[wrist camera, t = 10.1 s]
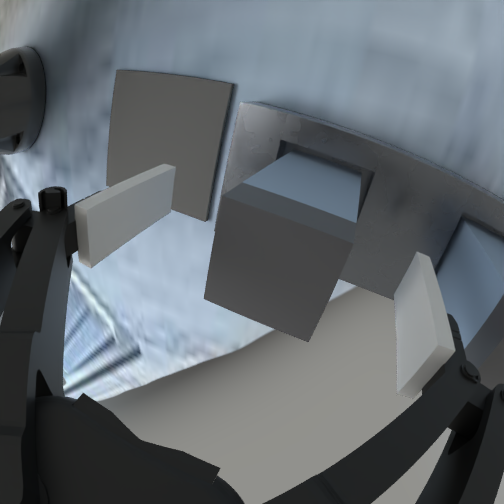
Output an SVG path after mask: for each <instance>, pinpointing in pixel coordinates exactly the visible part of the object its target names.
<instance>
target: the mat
mask: <svg viewBox="0 0 504 504" xmlns="http://www.w3.org/2000/svg"><path fill="white" fill-rule="evenodd" d="M233 86H234V84H230V83H225V82H220V81H214V80H208V79H201V78H195V77H188V76H180V75H172V74H163V73H154V72H142V71H129V70H117V71H116V78H115V85H114V92H113V100H112V109H111V119H110V129H109V142H108V158H107V181H106V186H109V187H111V186H114V185H116V184H118V183H120V182H122V181H125V180H127V179H129V178H131V177H134V176H136V175H138V174H140V173H143V172H145V171H148V170H150V169H152V168H155V167H157V166H160V165H162V164H168V165H171V166H175V167H176V170H175V178H174V186H173V195H172V204H171V209H172V210H175V211H177V212H180V213H183V214H186V215H188V216H191V217H194V218H196V219H199V220H202V221H204V222H206V221H207V220H208V214H209V208H210V202H211V197H212V191H213V185H214V180H215V175H216V169H217V164H218V159H219V153H220V148H221V143H222V138H223V133H224V128H225V123H226V118H227V114H228V109H229V104H230V100H231V95H232V90H233Z"/></svg>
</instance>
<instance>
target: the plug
mask: <svg viewBox="0 0 504 504" xmlns="http://www.w3.org/2000/svg"><path fill="white" fill-rule="evenodd" d="M361 175H362V173H361V172H359V171H356V170H353V169H351V168H348V167H345V166H342V165H340V164H337V163H334V162H331V161H328V160H325V159H323V158H320V157H317V156H314V155H311V154H308V153H305V152H302V151H298V150H295V149H294V150H292V151H291V152H289V153H288V154H286V155H284V156H283V157H281V158H279V159H278V160H276V161H275V162H273V163H271V164H270V165H268V166H267V167H265V168H264V169H262V170H260V171H259V172H257V173H256V174H254V175H253V176H251V177H250V178H248V179H246V180H245V181H243V182H242V183H240V184H239V185H237V186H236V187H234V188H233V189H231V190H230V191H228V192H227V193H225V194H224V195H222V198H221V203H220V208H219V213H218V219H217V224H216V230H215V235H214V241H213V247H212V252H211V258H210V264H209V270H208V276H207V282H206V288H205V294H204V299H205V300H208V301H210V302H212V303H214V304H217V305H219V306H221V307H224V308H226V309H228V310H231V311H233V312H235V313H238V314H240V315H242V316H245V317H247V318H249V319H252V320H254V321H257V322H259V323H261V324H264V325H266V326H269V327H271V328H274V329H276V330H279V331H281V332H284V333H286V334H289V335H292V336H294V337H297V338H299V339H301V340H304V341H307V342H309V340H310V338H311V336H312V334H313V332H314V330H315V328H316V326H317V324H318V322H319V319H320V318H321V315H322V313H323V311H324V309H325V307H326V305H327V303H328V301H329V299H330V297H331V294H332V292H333V290H334V288H335V286H336V283H337V281H338V279H339V277H340V274H341V272H342V270H343V268H344V265H345V263H346V261H347V258H348V256H349V254H350V251H351V249H352V247H353V244H354V238H355V230H356V222H357V214H358V205H359V196H360V186H361Z"/></svg>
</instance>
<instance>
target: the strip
mask: <svg viewBox="0 0 504 504" xmlns="http://www.w3.org/2000/svg"><path fill="white" fill-rule="evenodd" d="M294 149H295V150H298V151H302V152H305V153H308V154H311V155H314V156H317V157H320V158H323V159H325V160H328V161H331V162H334V163H337V164H340V165H342V166H345V167H348V168H351V169H353V170H356V171H359V172H361V173H362V175H361V186H360V196H359V205H358V214H357V222H356V230H355V238H354V244H353V247H352V249H351V251H350V254H349V256H348V258H347V261H346V263H345V265H344V268H343V270H342V272H341V274H340V277H339V279H341V280H343V281H346V282H349V283H351V284H354V285H356V286H359V287H362V288H364V289H367V290H369V291H372V292H375V293H377V294H380V295H382V296H385V297H387V298H390V299H393V300H394V293H395V292H396V290H397V288H398V286H399V285H400V283H401V281H402V279H403V277H404V275H405V273H406V272H407V270H408V268H409V266H410V264H411V262H412V260H413V258H414V256H415V254H416V252H419V253H422V254H424V255H426V256H429V257H430V259H431V262H432V265H433V269H435V267H436V265H437V264H438V262H439V260H440V258H441V256H442V254H443V252H444V250H445V248H446V246H447V244H448V242H449V240H450V238H451V236H452V234H453V232H454V230H455V228H456V226H457V224H458V222H459V220H460V217H461V215H462V216H464V217H466V218H468V219H470V220H472V221H474V222H476V223H478V224H479V225H481V226H483V227H485V228H487V229H489V230H491V231H493V232H494V233H496V234H498V235H500V236H502V237H503V238H504V200H503V199H501V198H499V197H498V196H496V195H494V194H493V193H491V192H489V191H487V190H485V189H484V188H482V187H480V186H478V185H476V184H474V183H473V182H471V181H469V180H467V179H465V178H463V177H461V176H459V175H457V174H455V173H453V172H451V171H449V170H447V169H445V168H443V167H441V166H439V165H437V164H434V163H432V162H430V161H428V160H426V159H423V158H421V157H419V156H417V155H414V154H412V153H410V152H408V151H405V150H403V149H400V148H398V147H396V146H393V145H391V144H388V143H386V142H383V141H381V140H378V139H375V138H373V137H370V136H367V135H365V134H362V133H359V132H356V131H354V130H351V129H348V128H345V127H342V126H339V125H336V124H333V123H330V122H327V121H324V120H321V119H317V118H314V117H311V116H307V115H304V114H301V113H297V112H294V111H290V110H286V109H283V108H279V107H275V106H271V105H267V104H263V103H259V102H240V105H239V109H238V114H237V118H236V123H235V128H234V132H233V137H232V142H231V147H230V152H229V157H228V161H227V166H226V171H225V177H224V182H223V187H222V192H221V197H220V203H221V198H222V195H224V194H225V193H227V192H228V191H230V190H231V189H233V188H234V187H236V186H237V185H239V184H240V183H242V182H243V181H245V180H246V179H248V178H250V177H251V176H253V175H254V174H256V173H257V172H259V171H260V170H262V169H264V168H265V167H267V166H268V165H270V164H271V163H273V162H275V161H276V160H278V159H279V158H281V157H283V156H284V155H286V154H288V153H289V152H291V151H292V150H294ZM220 203H219V208H220ZM219 208H218V213H219ZM218 213H217V219H218ZM217 219H216V224H217ZM216 224H215V230H216ZM215 230H214V231H215Z"/></svg>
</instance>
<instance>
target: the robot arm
mask: <svg viewBox="0 0 504 504" xmlns="http://www.w3.org/2000/svg"><path fill="white" fill-rule="evenodd" d="M45 93H46V91H45V76H44V70H43V66H42V63H41V60H40V58H39V56H38V54H37V53H36V52H35V51H34V50H33V49H32V48H30V47H19V48H12V49H9V50H7V51H4V52H2V53H0V154H6V155H10V154H15V153H18V152H21V151H24V150H27V149H28V148H29V147H30V146H31V145H32V144H33V143H34V141H35V140H36V138H37V136H38V133H39V131H40V128H41V124H42V120H43V115H44V108H45ZM175 170H176V167H175V166H171V165H168V164H162V165H160V166H157V167H155V168H152V169H150V170H148V171H145V172H143V173H140V174H138V175H136V176H134V177H131V178H129V179H127V180H125V181H122V182H120V183H118V184H116V185H114V186H111V187H109V188H107V189H105V190H102V191H98V192H96V193H94V194H92V195H91V196H88V197H86V198H85V199H82V200H80V201H78V202H76V203H74V204H72V205H70V206H68V207H67V190H66V189H65V188H63V187H56V186H55V187H49V188H45V189H43V190H41V191H40V192H39V193H38V197H39V208H40V212H38V211H32V206H31V201H30V200H28V199H16V200H14V201H12V202H10V203H9V204H8V205H7V206H5V207H4V208H3V209H2V210H1V211H0V316H1V315H2V312H3V311H4V313H3V317H2V321H1V325H0V504H244V502H243V500H242V499H241V497H240V496H239V495H238V493H237V492H236V491H235V490H234V489H233V488H232V487H231V486H230V485H229V484H228V483H227V482H225V481H224V480H223V479H221V478H220V477H219V476H217V474H218V472H219V470H220V468H219V467H217V466H214V465H212V464H210V463H207V462H205V461H203V460H200V459H198V458H196V457H194V456H192V455H189V454H187V453H185V452H183V451H179V450H175V449H171V448H167V447H163V446H159V445H156V444H152V443H149V442H145V441H142V440H140V439H139V438H138V437H137V436H135V435H134V434H133V433H132V432H131V431H130V430H129V429H128V428H127V427H126V426H125V425H124V424H123V423H122V422H121V421H120V420H119V419H118V418H117V417H116V416H115V415H114V414H113V413H112V412H111V411H110V410H108V409H106V408H105V407H103V406H102V405H100V404H99V403H97V402H96V401H94V400H93V399H91V398H90V397H88V396H87V395H86V394H84V393H83V394H82V395H81V396H80V397H79V398H78V399H74V398H70V397H65V395H64V391H63V353H64V335H65V321H66V310H67V301H68V292H69V284H70V277H71V270H72V263H73V259H72V254H73V253H75V252H76V251H78V256H79V262H80V263H82V264H84V265H86V266H88V267H89V268H92V267H94V266H95V265H96V264H98V263H99V262H100V261H102V260H103V259H104V258H106V257H107V256H108V255H110V254H111V253H113V252H114V251H115V250H117V249H118V248H119V247H121V246H122V245H124V244H125V243H126V242H128V241H129V240H131V239H132V238H134V237H135V236H136V235H138V234H139V233H141V232H142V231H144V230H145V229H147V228H148V227H149V226H151V225H152V224H154V223H155V222H157V221H158V220H160V219H161V218H163V217H164V216H166V215H167V214H169V213H170V212H171V204H172V195H173V186H174V178H175ZM11 241H12V246H13V247H12V248H11ZM394 304H395V320H396V341H397V343H396V345H397V394H398V395H402V396H405V397H409V398H412V399H413V398H414V397H415V396H416V395H417V394H418V393H419V392H420V391H421V390H422V396H421V397H420V398H419V399H418V400H416V401H415V402H414V403H413V404H412V405H411V406H410V407H409V408H407V409H406V410H405V411H404V412H403V413H402V414H401V415H399V416H398V417H397V418H396V419H395V420H394V421H392V422H391V423H390V424H389V425H387V426H386V427H385V428H384V429H382V430H381V431H380V432H379V433H377V434H376V435H375V436H373V437H372V438H371V439H369V440H368V441H367V442H365V443H364V444H363V445H362V446H360V447H359V448H357V449H356V450H354V451H353V452H352V453H350V454H349V455H347V456H346V457H345V458H343V459H341V460H340V461H339V462H337V463H336V464H334V465H332V466H331V467H329V468H328V469H326V470H325V471H323V472H321V473H320V474H318V475H315V476H313V477H311V478H310V479H308V480H306V481H304V482H303V483H301V484H299V485H297V486H296V487H294V488H292V489H290V490H289V491H287V492H285V493H283V494H281V495H279V496H277V497H275V498H273V499H271V500H269V501H267V502H265V503H263V504H371V503H372V502H373V501H375V500H376V499H377V498H378V497H379V496H380V495H381V494H383V493H384V492H385V491H386V490H387V489H388V488H389V487H391V485H393V484H394V483H395V482H396V481H397V480H398V479H399V478H400V477H401V476H402V475H403V474H404V473H405V472H407V471H408V469H410V467H412V466H413V465H414V463H415V462H416V461H417V460H418V459H419V458H420V457H421V456H422V455H423V454H424V453H425V452H426V451H427V450H428V449H429V448H430V446H431V445H432V444H433V443H434V442H435V441H436V440H437V439H438V437H439V436H440V435H441V434H442V433H443V432H444V431H445V429H446V428H447V427H448V428H450V429H451V430H452V431H451V434H450V436H449V438H448V441H447V443H446V445H445V447H444V450H443V452H442V454H441V456H440V458H439V460H438V462H437V464H436V466H435V468H434V471H433V473H432V474H431V476H430V478H429V480H428V482H427V484H426V486H425V487H424V489H423V491H422V493H421V495H420V496H419V498H418V500H417V502H416V503H415V504H494V501H495V498H496V495H497V492H498V489H499V486H500V482H501V479H502V475H503V472H504V384H501V383H500V384H498V385H497V386H496V387H495V388H494V389H493V390H490V389H489V388H487V387H486V386H484V385H483V384H481V383H480V382H481V377H480V373H479V371H478V369H477V368H476V367H475V366H474V365H473V364H472V363H471V362H470V361H467V359H466V355H465V351H464V346H463V342H462V341H461V340H462V338H461V334H460V331H459V327H458V324H457V322H456V320H455V319H454V317H453V316H452V315H451V314H448V313H446V309H445V305H444V302H443V298H442V295H441V291H440V288H439V285H438V281H437V278H436V275H435V272H434V269H433V265H432V262H431V259H430V257H429V256H426V255H424V254H422V253H419V252H416V254H415V256H414V258H413V260H412V262H411V264H410V266H409V268H408V270H407V272H406V273H405V275H404V277H403V279H402V281H401V283H400V285H399V286H398V288H397V290H396V292H395V293H394Z"/></svg>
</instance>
